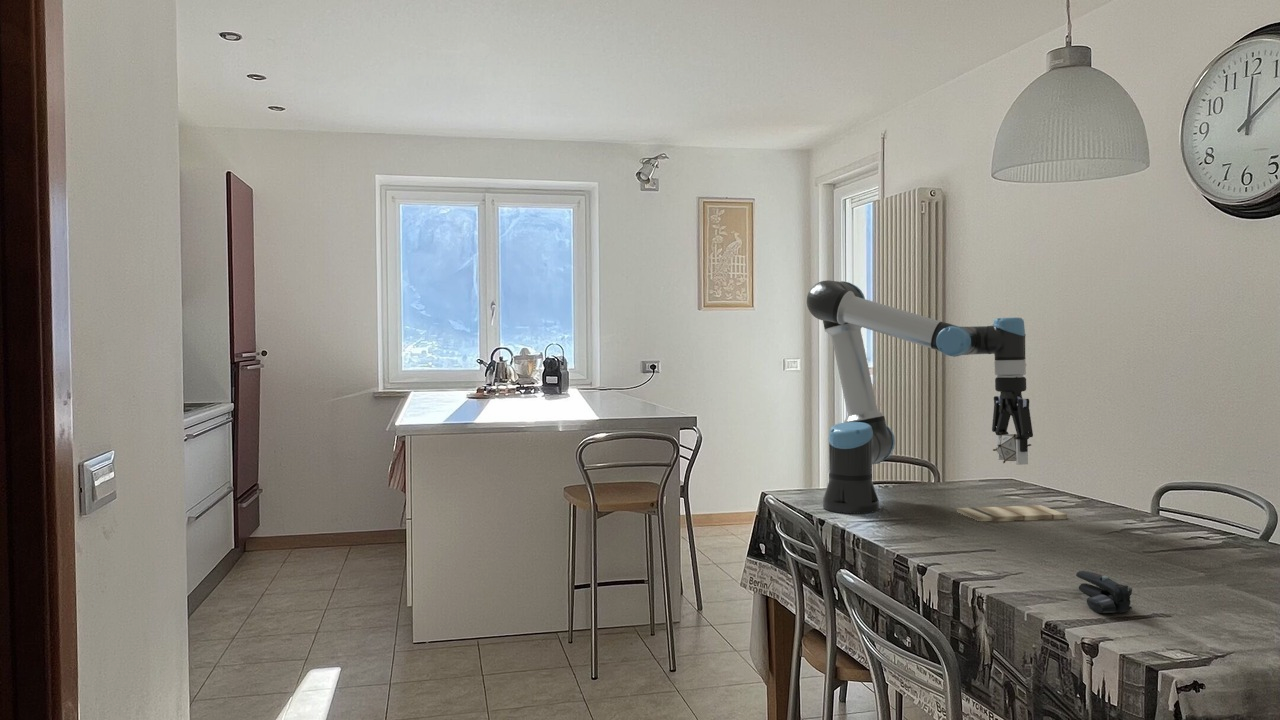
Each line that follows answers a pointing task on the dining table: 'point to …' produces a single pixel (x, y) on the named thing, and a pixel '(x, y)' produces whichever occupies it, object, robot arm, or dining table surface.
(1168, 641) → the dining table surface
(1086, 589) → the can opener
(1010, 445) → the game die
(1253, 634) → the dining table surface
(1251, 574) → the dining table surface
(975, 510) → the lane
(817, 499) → the dining table surface
